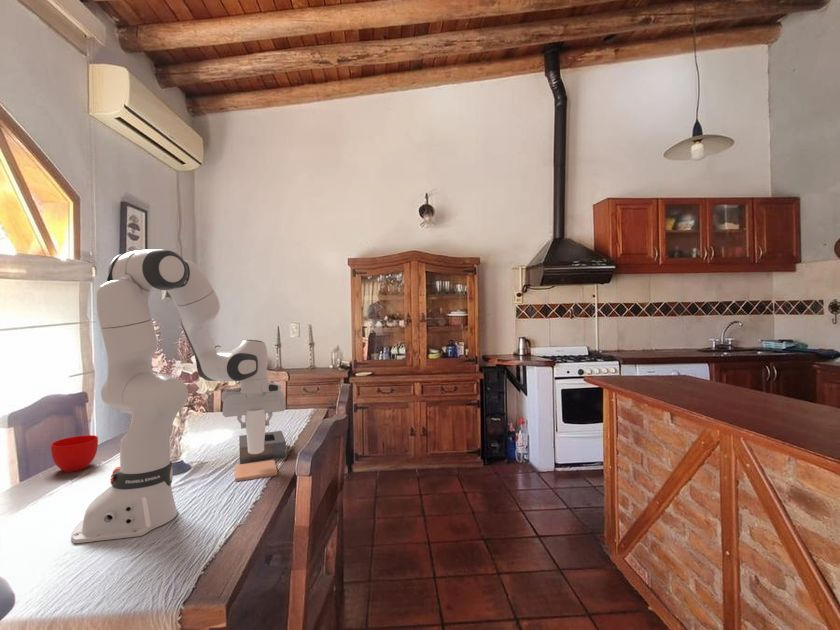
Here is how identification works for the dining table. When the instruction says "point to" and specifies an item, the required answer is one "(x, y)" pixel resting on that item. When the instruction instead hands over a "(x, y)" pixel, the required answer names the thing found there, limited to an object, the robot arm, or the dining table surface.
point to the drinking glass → (255, 431)
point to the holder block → (272, 448)
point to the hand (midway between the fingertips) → (255, 426)
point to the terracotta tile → (255, 470)
